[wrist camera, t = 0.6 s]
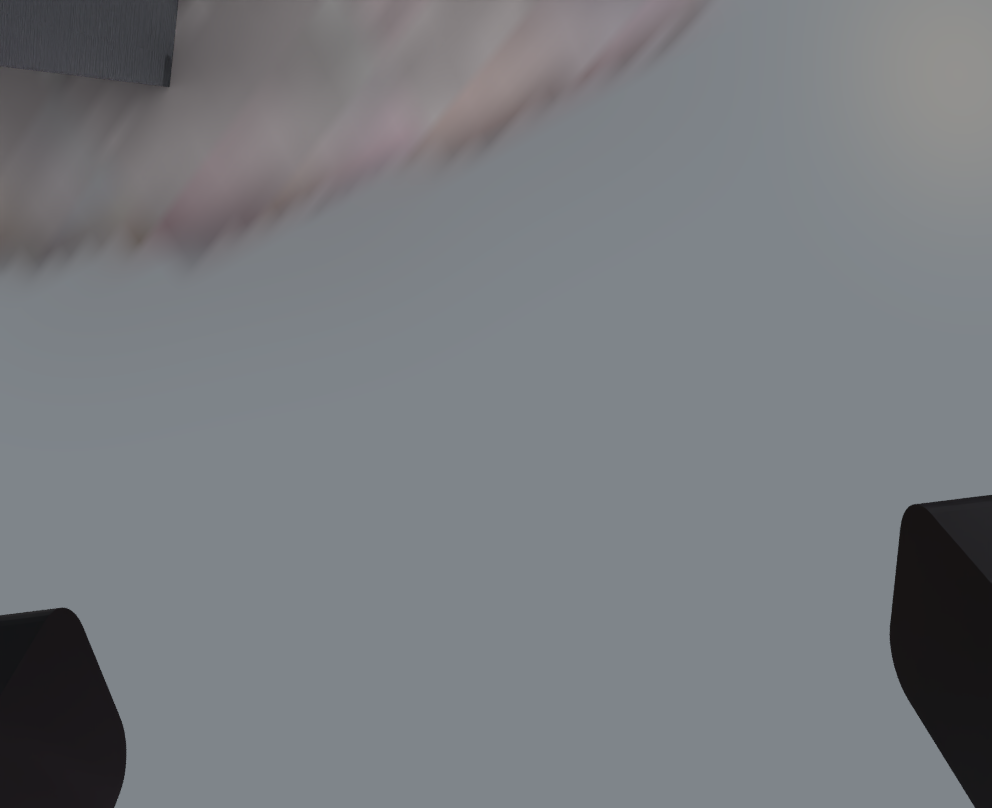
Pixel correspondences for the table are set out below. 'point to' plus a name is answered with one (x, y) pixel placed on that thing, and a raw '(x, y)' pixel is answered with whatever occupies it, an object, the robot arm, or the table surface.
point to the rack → (90, 38)
